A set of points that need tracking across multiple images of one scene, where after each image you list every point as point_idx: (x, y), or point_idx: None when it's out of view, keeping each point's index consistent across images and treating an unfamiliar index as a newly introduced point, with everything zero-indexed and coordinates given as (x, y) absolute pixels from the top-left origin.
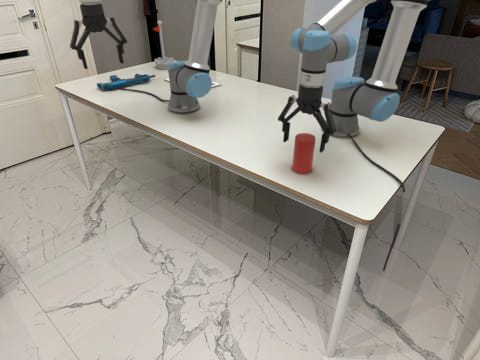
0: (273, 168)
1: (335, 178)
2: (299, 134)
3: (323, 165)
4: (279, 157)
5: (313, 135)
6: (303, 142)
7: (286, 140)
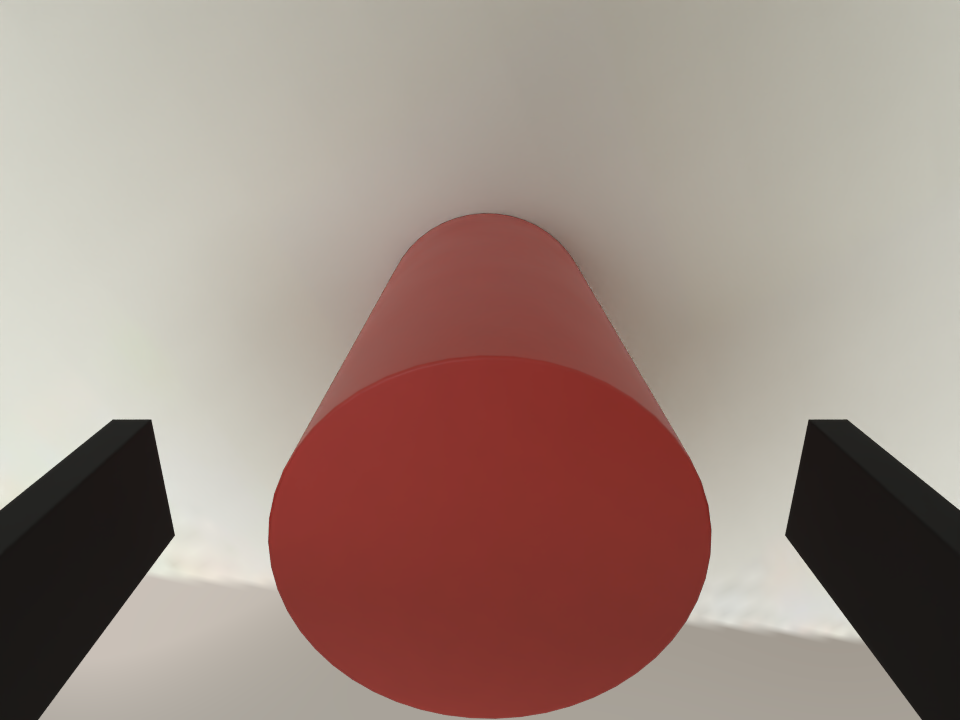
0: (255, 452)
1: (857, 294)
2: (313, 511)
3: (672, 102)
4: (156, 226)
5: (612, 386)
6: (537, 698)
7: (159, 504)
